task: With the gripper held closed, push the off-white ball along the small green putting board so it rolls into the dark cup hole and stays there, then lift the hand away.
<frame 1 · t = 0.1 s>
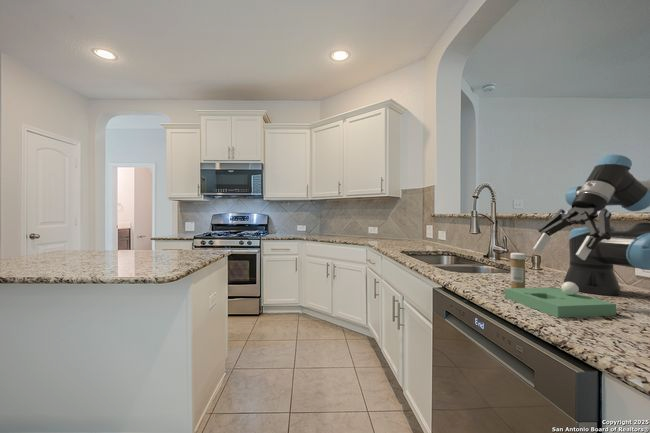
hand: (556, 254, 85), 15 cm above the worktop, tool tilted 35°, fingers open, 13 cm apart
putting board: (555, 305, 83), on the worktop
ball: (569, 288, 83), point 5 cm above the worktop, touching putting board
sprinkles bottle: (517, 290, 100), on the worktop
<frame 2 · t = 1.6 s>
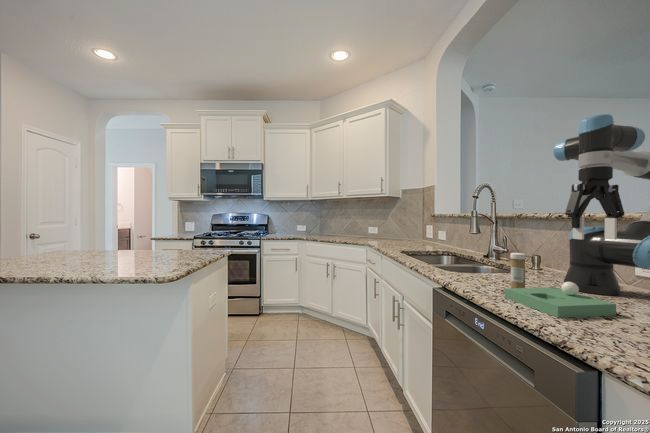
hand: (594, 239, 84), 20 cm above the worktop, tool pointing down, fingers open, 11 cm apart
nothing on the worktop moved.
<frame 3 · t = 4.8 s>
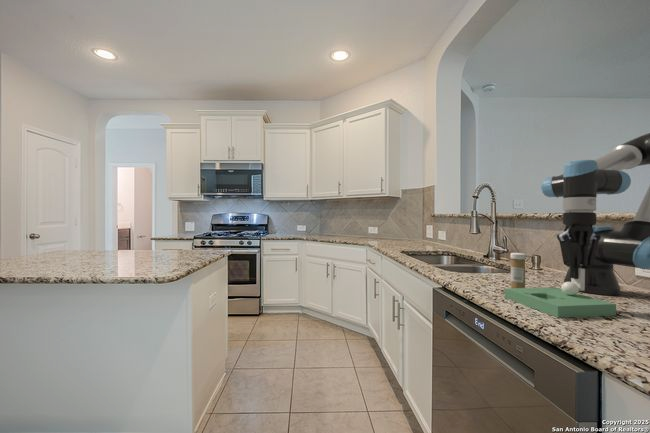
hand: (577, 289, 84), 5 cm above the worktop, tool pointing down, fingers closed
ball: (569, 288, 83), point 5 cm above the worktop, touching gripper
everything else where it was.
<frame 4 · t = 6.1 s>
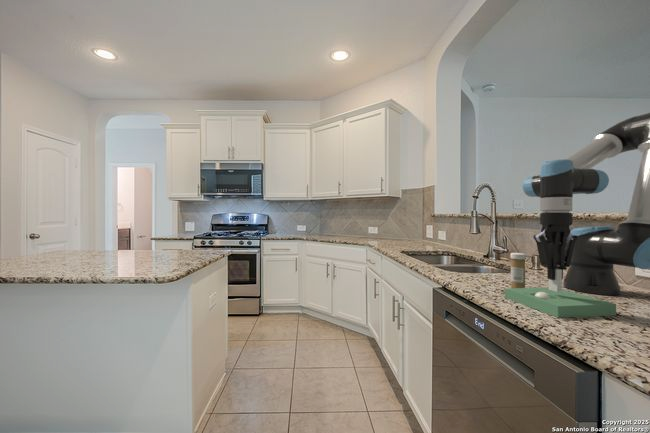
hand: (554, 290, 83), 5 cm above the worktop, tool pointing down, fingers closed
ball: (542, 298, 82), point 2 cm above the worktop, tilted 73°, touching putting board
everything else where it was.
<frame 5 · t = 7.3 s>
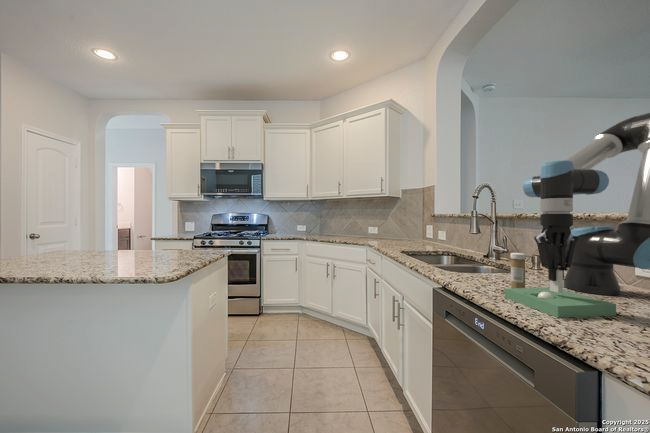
hand: (556, 291, 83), 4 cm above the worktop, tool pointing down, fingers closed
ball: (545, 298, 82), point 2 cm above the worktop, tilted 105°, touching putting board
everything else where it was.
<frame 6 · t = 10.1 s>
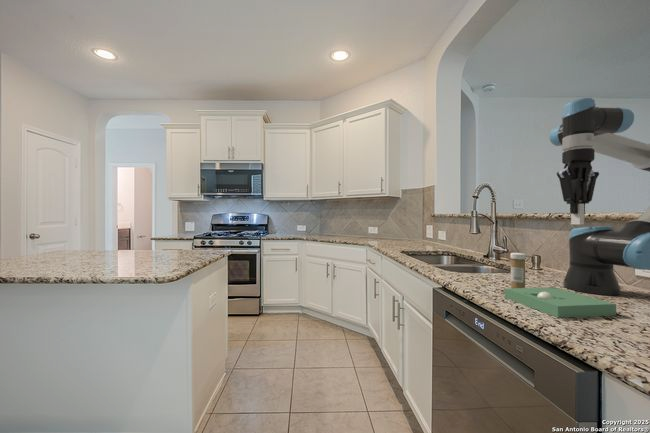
hand: (577, 224, 87), 24 cm above the worktop, tool pointing down, fingers closed
ball: (545, 298, 82), point 2 cm above the worktop, tilted 99°, touching putting board
everything else where it was.
at the end: ball 0.5 cm from the target spot on the putting board, point 2.2 cm above the putting board's base; sprinkles bottle moved 0.2 cm from its start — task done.
